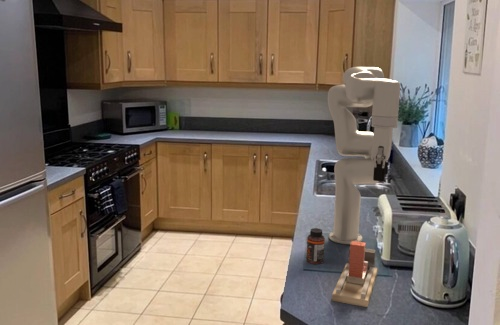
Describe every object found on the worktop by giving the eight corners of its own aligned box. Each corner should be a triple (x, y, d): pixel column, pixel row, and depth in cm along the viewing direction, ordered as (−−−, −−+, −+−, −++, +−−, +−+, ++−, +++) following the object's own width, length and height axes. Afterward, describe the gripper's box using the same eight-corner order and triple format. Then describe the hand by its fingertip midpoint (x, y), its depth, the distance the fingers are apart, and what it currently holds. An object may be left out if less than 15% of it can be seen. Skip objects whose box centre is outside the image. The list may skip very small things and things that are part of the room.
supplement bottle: (303, 259, 169) (304, 227, 167) (318, 257, 171) (319, 226, 169) (311, 265, 164) (312, 233, 162) (326, 263, 166) (328, 231, 164)
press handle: (350, 271, 154) (353, 235, 152) (366, 274, 153) (369, 237, 150) (346, 281, 147) (348, 244, 144) (363, 284, 145) (366, 246, 143)
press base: (346, 268, 162) (347, 245, 160) (377, 273, 159) (378, 250, 157) (331, 300, 140) (333, 274, 138) (367, 307, 137) (369, 280, 135)
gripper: (375, 118, 156) (371, 170, 160) (368, 124, 141) (364, 182, 144) (399, 119, 154) (395, 172, 157) (395, 125, 138) (390, 185, 141)
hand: (380, 177), depth 151 cm, fingers open, 9 cm apart
